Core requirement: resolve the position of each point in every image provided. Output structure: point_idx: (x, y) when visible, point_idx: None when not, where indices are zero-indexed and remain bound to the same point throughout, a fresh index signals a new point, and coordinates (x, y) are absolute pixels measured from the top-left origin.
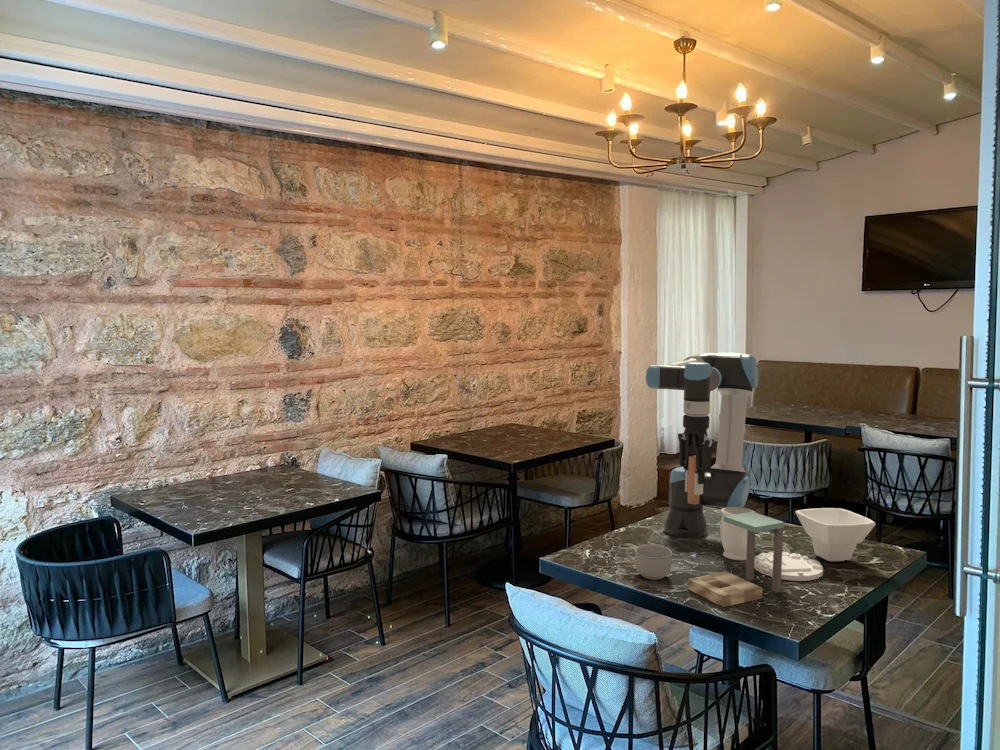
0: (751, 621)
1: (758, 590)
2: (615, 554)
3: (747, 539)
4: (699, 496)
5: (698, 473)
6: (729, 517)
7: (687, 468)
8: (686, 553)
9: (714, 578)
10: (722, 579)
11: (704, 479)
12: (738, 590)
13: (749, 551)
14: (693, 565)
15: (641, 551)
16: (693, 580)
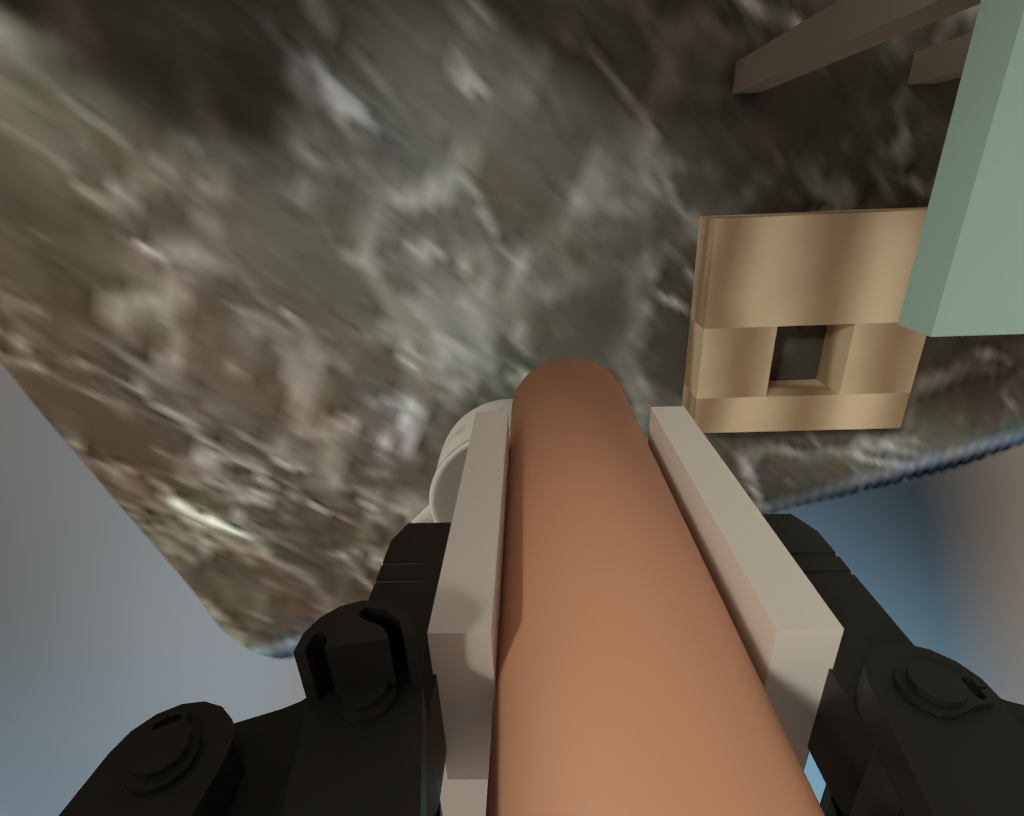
0: (1012, 405)
1: None
2: (246, 439)
3: (855, 41)
4: (623, 400)
5: (813, 739)
6: (999, 320)
7: (439, 780)
8: (307, 120)
9: (750, 333)
10: (780, 309)
11: (846, 566)
12: (905, 335)
13: (831, 58)
14: (473, 212)
15: (441, 502)
16: (717, 426)
